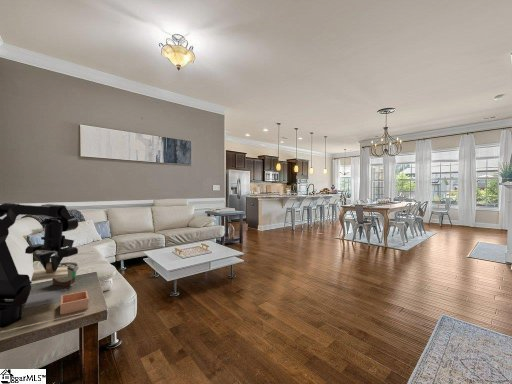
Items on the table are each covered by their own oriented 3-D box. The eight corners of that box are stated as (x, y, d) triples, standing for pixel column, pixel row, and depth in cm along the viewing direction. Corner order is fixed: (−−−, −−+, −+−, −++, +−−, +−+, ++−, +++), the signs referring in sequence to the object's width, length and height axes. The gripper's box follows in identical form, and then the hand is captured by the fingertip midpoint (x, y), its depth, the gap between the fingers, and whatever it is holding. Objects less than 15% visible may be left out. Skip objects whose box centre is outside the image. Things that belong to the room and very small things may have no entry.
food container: (84, 283, 114) (85, 263, 114) (73, 288, 108) (74, 267, 108) (61, 280, 115) (63, 260, 115) (49, 285, 109) (51, 264, 109)
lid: (67, 276, 96) (68, 264, 96) (31, 281, 89) (32, 268, 89) (67, 268, 104) (67, 257, 104) (33, 272, 97) (34, 261, 97)
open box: (88, 309, 91) (88, 298, 91) (60, 316, 85) (60, 304, 85) (86, 301, 97) (87, 290, 97) (60, 306, 92) (61, 295, 92)
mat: (67, 301, 96) (67, 299, 96) (23, 309, 88) (23, 308, 88) (67, 289, 106) (67, 288, 106) (27, 296, 98) (27, 295, 98)
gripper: (89, 232, 104) (86, 266, 104) (51, 229, 105) (49, 262, 105) (67, 237, 93) (64, 275, 93) (25, 233, 94) (22, 270, 94)
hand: (50, 270), depth 97 cm, fingers closed on lid, 3 cm apart
